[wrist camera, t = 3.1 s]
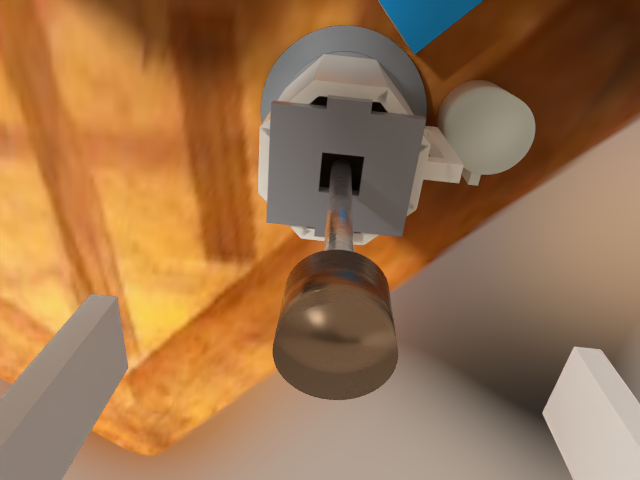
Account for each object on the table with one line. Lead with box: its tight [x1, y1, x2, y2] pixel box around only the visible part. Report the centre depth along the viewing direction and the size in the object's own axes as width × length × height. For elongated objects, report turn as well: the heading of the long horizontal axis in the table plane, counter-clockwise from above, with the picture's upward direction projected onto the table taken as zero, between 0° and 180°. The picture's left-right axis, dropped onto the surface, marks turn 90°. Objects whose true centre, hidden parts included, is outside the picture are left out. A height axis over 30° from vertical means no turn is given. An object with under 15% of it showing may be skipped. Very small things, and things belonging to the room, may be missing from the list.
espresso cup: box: [437, 80, 535, 186], centre depth 36 cm, size 7×6×6 cm
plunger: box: [273, 159, 398, 400], centre depth 20 cm, size 4×4×16 cm
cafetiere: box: [258, 51, 464, 245], centre depth 32 cm, size 10×13×14 cm
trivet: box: [261, 25, 427, 123], centre depth 38 cm, size 14×14×1 cm
